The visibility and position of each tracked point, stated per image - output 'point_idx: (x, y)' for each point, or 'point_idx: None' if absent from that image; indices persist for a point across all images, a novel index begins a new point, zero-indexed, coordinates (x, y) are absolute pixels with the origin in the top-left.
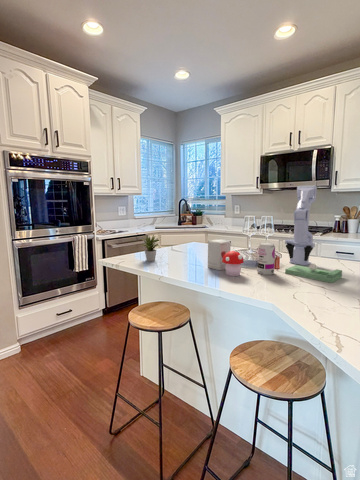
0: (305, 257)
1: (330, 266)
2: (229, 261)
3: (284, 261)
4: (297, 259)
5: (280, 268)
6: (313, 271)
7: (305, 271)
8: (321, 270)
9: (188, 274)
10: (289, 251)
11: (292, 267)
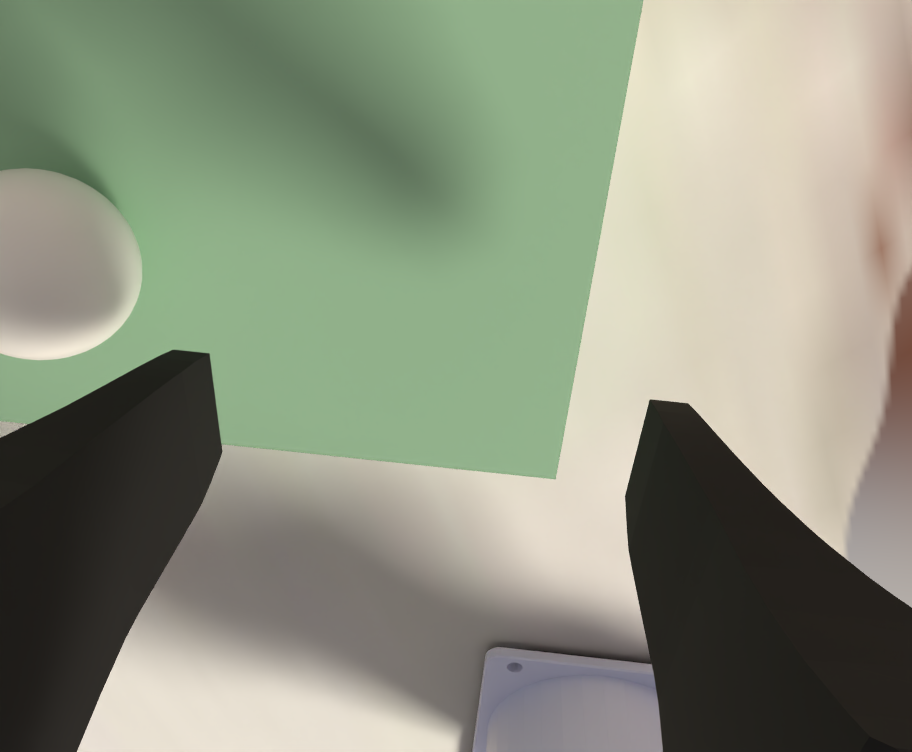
0: (109, 390)
1: (228, 749)
2: None
3: None
4: (639, 743)
5: (851, 261)
6: None
7: (147, 54)
8: (10, 368)
9: None
10: (772, 546)
11: (552, 231)
